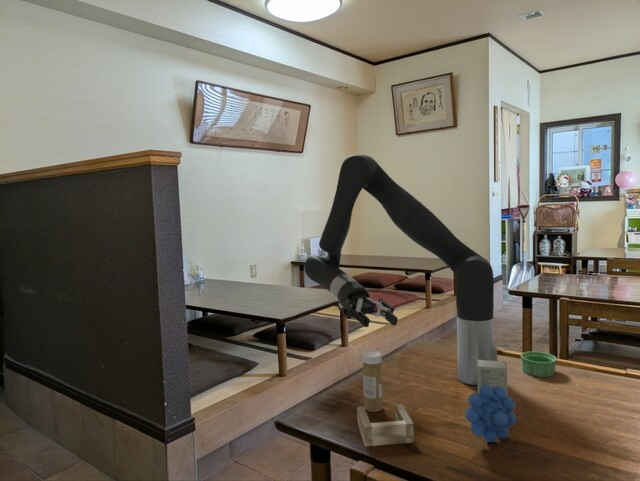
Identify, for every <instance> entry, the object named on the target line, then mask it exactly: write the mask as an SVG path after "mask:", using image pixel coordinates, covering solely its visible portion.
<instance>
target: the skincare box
mask: <svg viewBox="0 0 640 481" xmlns="http://www.w3.org/2000/svg"><path fill="white" fill-rule="evenodd" d="M507 366H508V365H507V361H506V360H497V361H493V360H477V373H478V385H477V394H479V388H480V387H481V386H482V385H489V386H490V387H492V389H493V388H494V387H496V386H500V387H502V388H503V389H504V390H505V391H506V397H509V396H508V395H509V394H508V393H509V392H508V367H507ZM479 395H480V394H479Z"/></svg>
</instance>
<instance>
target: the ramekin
mask: <svg viewBox="0 0 640 481" xmlns="http://www.w3.org/2000/svg"><path fill="white" fill-rule="evenodd" d="M520 358H521V359H520V360H521V367H522V371H523V372H524V373H525V374H527V375H529V376H532V377H540V378H542V377H543V378H547V377H548V378H549V377H553V375H555V373H556V364H557V360H558V358H557V357H556V356H555V355H553V354H551V353H547V352H545V351H544V352H543V351H532V350H531V351H524V352H522V353H521V354H520Z"/></svg>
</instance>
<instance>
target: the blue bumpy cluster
mask: <svg viewBox="0 0 640 481" xmlns="http://www.w3.org/2000/svg"><path fill="white" fill-rule="evenodd" d="M479 394H480V395H479ZM479 394H478V392H476V393H474V392H473V393H470V394H469V396H468V403H469V404H468V405H469V406H470V407H467V409H465V418H466V420H467V421H468V422H469V423H471V425H470V429H471V432H472V434H473V435H474V436H476V437H483V439H484V441H486V442H488V443H493V442H496V441H497V439H498V438H501V439H506V438H507V437H508V436H509V435H510V429H509V427H512V426H515V425H516V423H517V416H516V415H515V413H513V411H514V410H515V408H516V402H515V401H514V399H513V398H512V397H510V396H508V397H506V391H505V390H504V389H503V388H502V387H500V386H496V387H494V388H493V389H492V387H490V386H489V385H482V386H481V387H480V388H479Z"/></svg>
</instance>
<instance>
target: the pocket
mask: <svg viewBox="0 0 640 481" xmlns="http://www.w3.org/2000/svg"><path fill="white" fill-rule="evenodd" d="M356 412H357V413H356V418H357V419H356V420H357V427H358V430H359V433H360V435H361V438H362V441H363V444H364V447H375V446H385V445H397V444H398V445H401V444H409V443H414V442H415V440H414V438H415V436H414V430H415V429H414V422H413V420H412V419H411V417H410V415H409V413H408V412H407V410H406V409H405V407H404V405H403V403H395V404H394V418H395V419H394V420H395V421H379V422H371V421H370V419H369V417H368V413H367V410H366V409H365V408H364V406H356Z"/></svg>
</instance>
